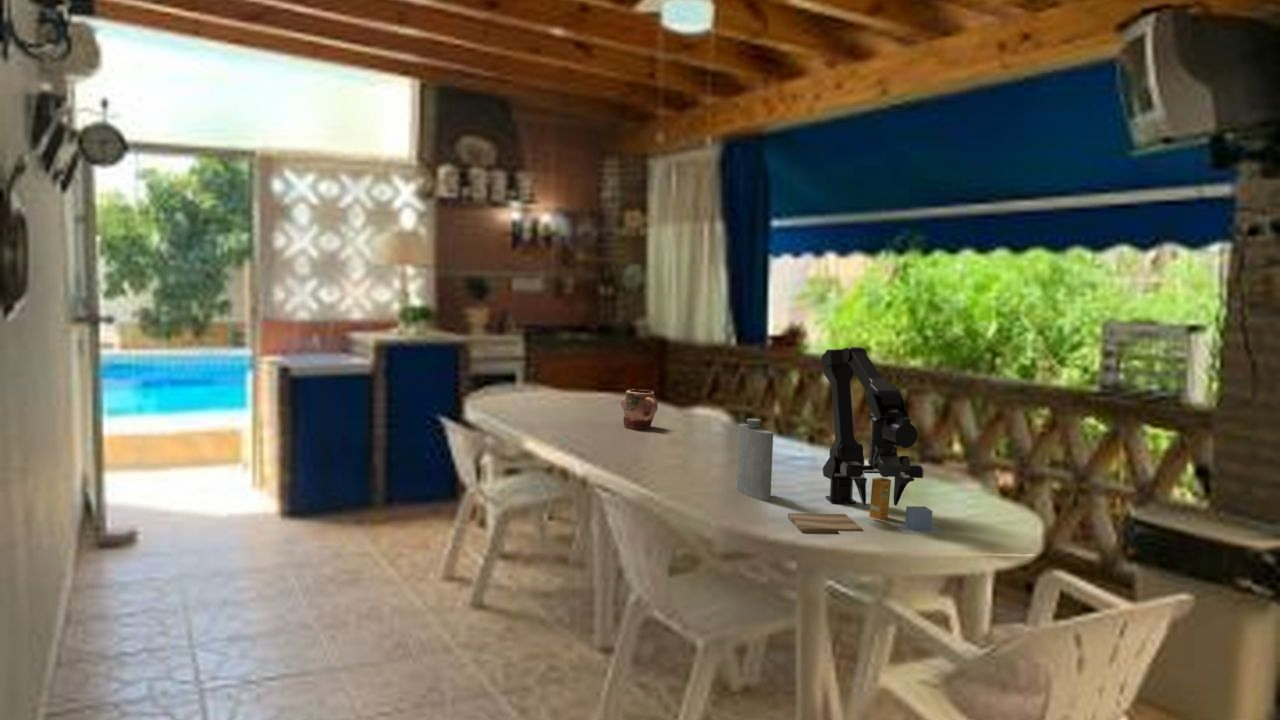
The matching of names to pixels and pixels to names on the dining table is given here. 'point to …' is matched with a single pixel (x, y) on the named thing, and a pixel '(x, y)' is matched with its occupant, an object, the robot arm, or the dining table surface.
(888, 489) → the supplement box
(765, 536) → the dining table surface
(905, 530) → the grey mat
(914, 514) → the slate blue block
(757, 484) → the hip flask
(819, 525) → the walnut board
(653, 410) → the pink rounded hollow vessel
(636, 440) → the dining table surface
